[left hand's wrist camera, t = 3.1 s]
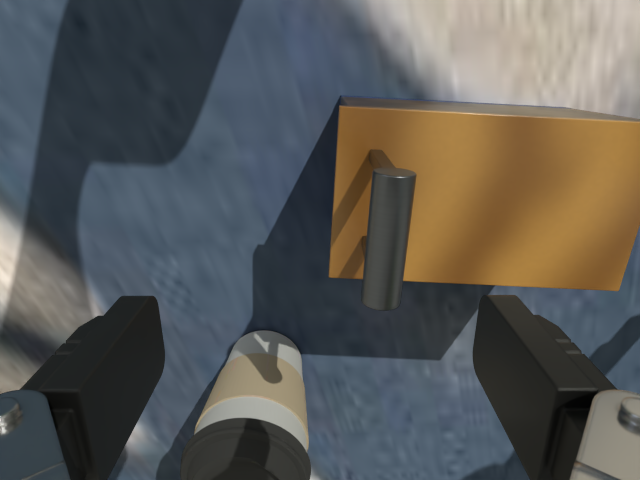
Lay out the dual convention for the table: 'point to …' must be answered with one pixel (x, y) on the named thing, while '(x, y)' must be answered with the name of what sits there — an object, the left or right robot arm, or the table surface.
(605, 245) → the lid
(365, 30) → the table surface
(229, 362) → the coffee cup
